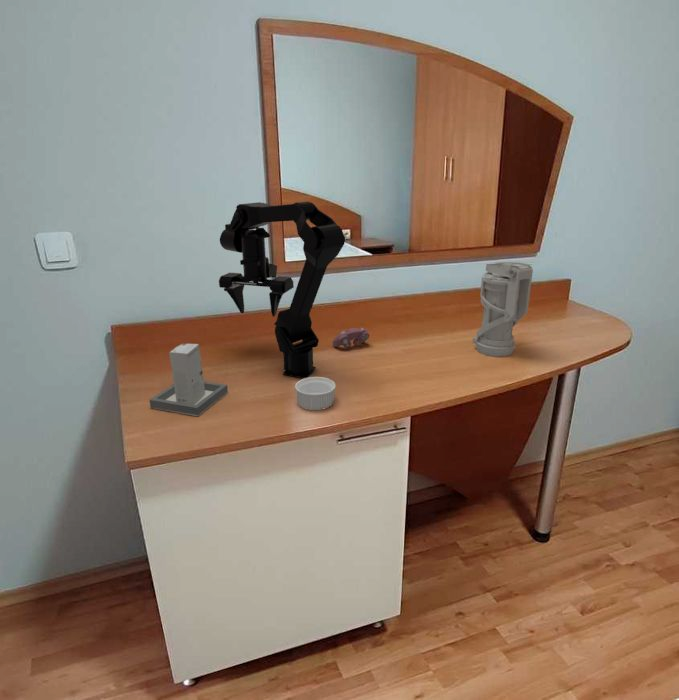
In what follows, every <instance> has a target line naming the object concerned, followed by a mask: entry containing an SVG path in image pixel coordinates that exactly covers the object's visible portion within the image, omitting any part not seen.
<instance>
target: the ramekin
mask: <svg viewBox="0 0 679 700" xmlns="http://www.w3.org/2000/svg"><path fill="white" fill-rule="evenodd" d="M294 390H295V391H296V392H295V394H296V400H297V403H298V405H299V406H300V407H301V408H302V407H303V408H302V409H304V408H306V409H305V410H307V409H310V410H309V411H320V410H319V409H323V408H326V409H328V408H330V407H331V406H333V404H334V402H335V390H336V382H335V381H334V380H332V379H331V378H328V377H322V376H308V377H307V378H302V379H300V380H299V381H297V382H296V383H295V385H294ZM329 406H330V407H329ZM327 407H328V408H327ZM323 410H324V409H323Z"/></svg>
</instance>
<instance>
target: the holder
mask: <svg viewBox="0 0 679 700" xmlns="http://www.w3.org/2000/svg"><path fill="white" fill-rule="evenodd" d="M204 388H205V394H204V395H203V396H202V397H201V398H200V399H199V400H198V401H197V402H196V403H195V404H193V405H191V404H186V403H180V402H176V395H175V389H174V383H173V384H172V385H170V386H168V387H167V388H165V389H164V390H162V391H160V392H159V393H157V394H156V395H155V396H153V397H152V398H151V397H150V399H149V405H150V407H149V408H150V409H154V410H161V411H165V412H171V413H176V414H181V415H182V414H183V415H187V416H194V417H200V416H201V415H202V414H203V413H205V411H207V410H208V409H209V408H210V407H212V406H213V405H215V404H216V403H217V402H218V401H220V400H221V399H222V398H223V397H225V396H226V395H228V394H229V391H228V390H229V389H228V384H226V383H225V384H224V383H217V382H211V381H205V380H204Z"/></svg>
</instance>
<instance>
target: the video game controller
mask: <svg viewBox="0 0 679 700" xmlns="http://www.w3.org/2000/svg"><path fill="white" fill-rule="evenodd" d="M369 338H370V333H369V332H368V330H366V329H364V327H361V328H358V327H356V328H355V327H351V328H348V329H346V330H342V331H340V332H339V333H338V334H337V335H336V336H335V337H334V338H333V340H332V346H333V347H334V348H339V347H340V346H343V348H344V349H349V348H350V347H351V346H352V344H353V346H354V347H359V346H361V344H362V343H365V342H366V341H367V340H369ZM351 341H352V342H351Z"/></svg>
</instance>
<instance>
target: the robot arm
mask: <svg viewBox="0 0 679 700" xmlns="http://www.w3.org/2000/svg"><path fill="white" fill-rule="evenodd" d="M308 221H309V222H310V223H311V224H312V225H314V226H310V225H309V223H308ZM277 222H293V223H295V225H296V232H297V235H298V237H299V238H300V240H301V241H302V242H303V248H302V250H303V253H304V256H305V260H304V265H303V267H302V269H301V273H300V276H299V279H298V282H297V286H296V287H295V288H296V289H295V292H294V294H293V297H292V300H291V303H290V306H289V308H286V309H284V310H280V311H278V309H279V305H280V302H281V300H282V297H283V295H284V294H286V293H287V292H289V291H291V290H292V289H293V288H294V285H295V284H294V280H293V278H292V277H291V276H279V275H278V276H277V272H278V265H276V264H274V263H270V260H269V257H267V255H266V242H265V239H268V238H270V237H271V235H270V232H269V231H267V230H265V228H264V226H266V225H271V223H277ZM224 226H225V229H224V230H222V231H221V233H220V236H219V237H220V238H219V243H220V246H221V247H222V248H223V249H224V250H226V251H231V252H236V253H240V254H241V253H242V259H240V260H239V261H240V262H239V263H240V265H241V266H243V267H242V268H243V274H242V273H239V272H227V273H225V274H223V275H221V276H220V277H219V278H218V286H219V288H222V289H223V290H224V292H227V293H228V295H229V296H230V297H231V300H233V302H234V304H235V306H236V307H237V309H238V310H239V312H240V314H244V313H245V302H244V299H245V298H244V293H243V292H244V288H245V286H254V287H263V288H264V287H265V288H269V289H270V291H271V292H269V294H268V295H269V303H270V311H271V317H273V318H274V317H276V315H277V319H276V320H275V322H274V324H273V325H275V326H274V335H275V339H276V343H277V346H278V349H279V352H281V353H282V354H283V370H284V371H283V372H282V375H283V376H289V377H296V378H302V379H305V378H309V377H310V375H311V374H313V373H314V372H315V370H316V369H317V366H314V351H313V350H314V348H317V347H318V345H319V340H320V339H319V338H318V336H317V334H316V333H315V332H314V329H313V328H312V324H313V321H312V319H311V316H310V314H311V311H312V308H313V305H314V303H315V300H316V297H317V294H318V293H319V289H320V286H321V284H322V281H323V278H324V276H325V273H326V271H327V268H328V266H329V265H330V264H331V263H332V262H333V260H335V258H337V257H338V256H339V254H340V253H341V250H342V249H343V248H344V245H345V242H346V236H345V235H344V231H343V230H342V228H341V227H340V225H338V224H337V223H336V222H335V220H334V219H333V218H332V217H331V216H329V215H327V214H326V213H324V212H323V211H321V210H320V209H319V208H318V207H317V206H316V204H315V203H313V202H311V201H308V200H307V201H298V202H293V203H289V204H277V205H270V204H268V203H265V202H251V203H250V202H249V203H239V204H237V205H236V206H235V211H234V214H233V216H232V218H231V221H230V223H227V224H225V225H224ZM270 278H272V279H270ZM277 312H278V314H277Z"/></svg>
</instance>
